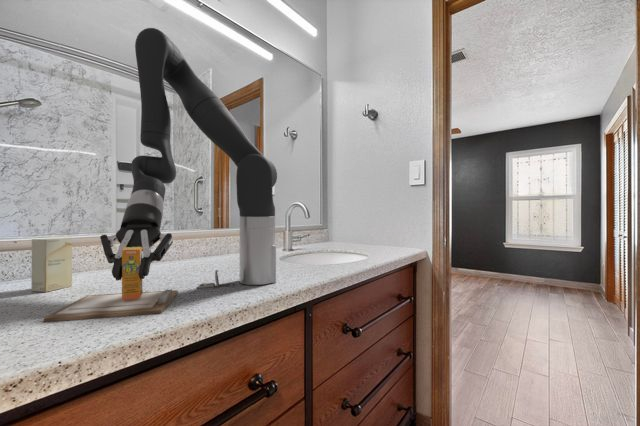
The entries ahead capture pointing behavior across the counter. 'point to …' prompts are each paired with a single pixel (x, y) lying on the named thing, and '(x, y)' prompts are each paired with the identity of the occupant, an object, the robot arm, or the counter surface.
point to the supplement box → (131, 273)
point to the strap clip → (212, 285)
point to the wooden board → (114, 306)
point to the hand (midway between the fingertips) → (129, 277)
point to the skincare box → (51, 264)
